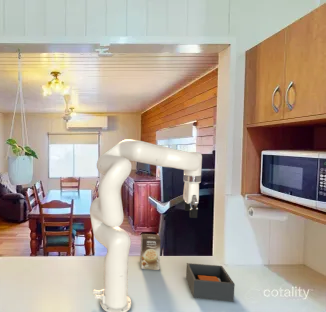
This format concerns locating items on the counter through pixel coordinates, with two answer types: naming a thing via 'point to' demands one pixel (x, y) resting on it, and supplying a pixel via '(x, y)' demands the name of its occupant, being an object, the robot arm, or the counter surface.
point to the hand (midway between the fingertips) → (190, 213)
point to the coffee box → (150, 251)
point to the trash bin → (210, 282)
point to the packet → (208, 278)
